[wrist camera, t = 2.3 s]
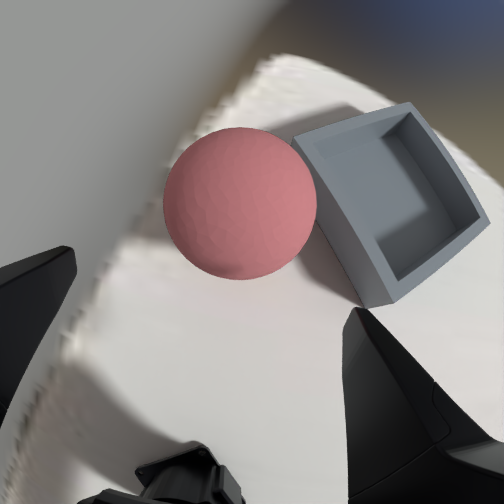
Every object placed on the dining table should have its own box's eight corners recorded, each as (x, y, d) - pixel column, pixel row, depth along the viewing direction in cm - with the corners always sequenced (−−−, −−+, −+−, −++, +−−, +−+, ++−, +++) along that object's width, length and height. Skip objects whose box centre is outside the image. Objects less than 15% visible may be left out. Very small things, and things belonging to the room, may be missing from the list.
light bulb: (275, 308, 21) (323, 281, 10) (178, 285, 21) (118, 233, 10) (293, 217, 23) (342, 117, 12) (203, 196, 23) (182, 85, 12)
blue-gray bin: (365, 309, 22) (393, 303, 17) (283, 168, 24) (293, 136, 20) (461, 238, 24) (490, 223, 19) (390, 128, 26) (409, 101, 22)
